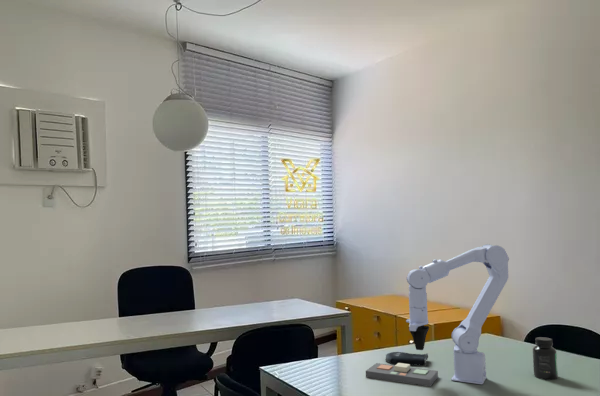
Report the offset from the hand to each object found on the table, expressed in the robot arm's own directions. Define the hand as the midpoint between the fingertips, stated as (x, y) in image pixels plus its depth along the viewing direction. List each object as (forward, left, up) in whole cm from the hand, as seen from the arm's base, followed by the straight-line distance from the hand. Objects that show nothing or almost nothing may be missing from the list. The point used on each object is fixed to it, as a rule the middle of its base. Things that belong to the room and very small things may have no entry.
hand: (419, 349), depth 154 cm
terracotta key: (+12, 0, -9) cm, 15 cm away
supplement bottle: (-35, -19, -10) cm, 41 cm away
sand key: (+6, 0, -7) cm, 9 cm away
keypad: (+6, +1, -9) cm, 11 cm away
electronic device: (+10, -17, -10) cm, 22 cm away
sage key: (0, 0, -9) cm, 9 cm away
